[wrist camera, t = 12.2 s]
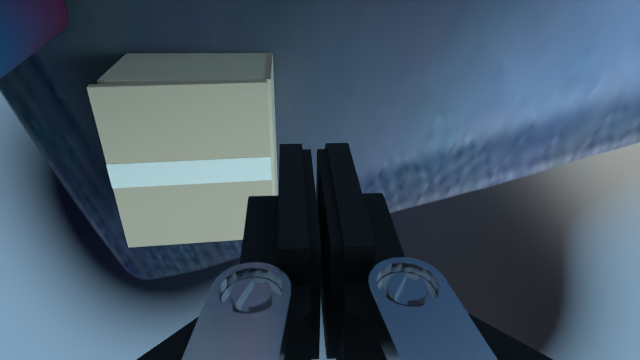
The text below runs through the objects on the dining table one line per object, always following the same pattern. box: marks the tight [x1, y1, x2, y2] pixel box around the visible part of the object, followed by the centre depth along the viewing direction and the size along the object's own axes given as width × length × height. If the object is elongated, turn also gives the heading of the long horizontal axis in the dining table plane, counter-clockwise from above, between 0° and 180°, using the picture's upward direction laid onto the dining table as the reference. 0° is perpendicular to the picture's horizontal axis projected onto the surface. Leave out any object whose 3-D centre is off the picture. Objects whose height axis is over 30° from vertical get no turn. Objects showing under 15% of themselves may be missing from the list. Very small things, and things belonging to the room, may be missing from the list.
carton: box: [97, 53, 278, 196], centre depth 45 cm, size 14×16×8 cm
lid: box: [87, 80, 272, 247], centre depth 40 cm, size 14×16×1 cm
